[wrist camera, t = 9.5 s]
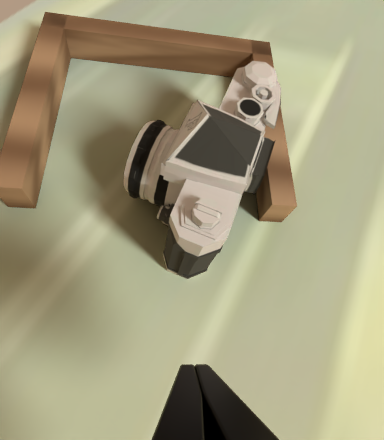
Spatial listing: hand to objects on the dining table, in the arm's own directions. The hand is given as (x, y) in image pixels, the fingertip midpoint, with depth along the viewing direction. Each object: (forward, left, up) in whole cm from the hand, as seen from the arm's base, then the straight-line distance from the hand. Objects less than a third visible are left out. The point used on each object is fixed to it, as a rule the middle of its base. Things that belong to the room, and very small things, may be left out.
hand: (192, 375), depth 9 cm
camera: (+7, +13, -13) cm, 19 cm away
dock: (+6, +20, -12) cm, 24 cm away
